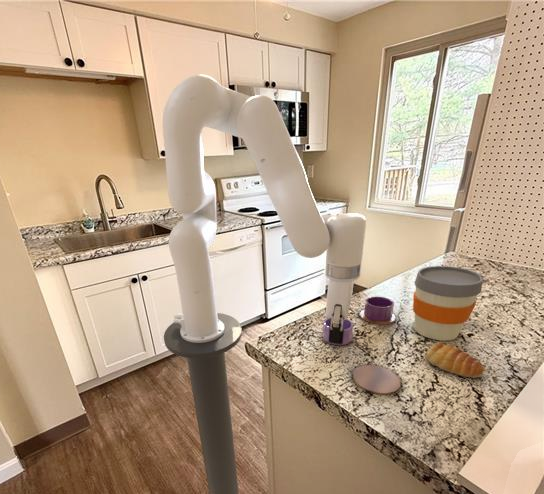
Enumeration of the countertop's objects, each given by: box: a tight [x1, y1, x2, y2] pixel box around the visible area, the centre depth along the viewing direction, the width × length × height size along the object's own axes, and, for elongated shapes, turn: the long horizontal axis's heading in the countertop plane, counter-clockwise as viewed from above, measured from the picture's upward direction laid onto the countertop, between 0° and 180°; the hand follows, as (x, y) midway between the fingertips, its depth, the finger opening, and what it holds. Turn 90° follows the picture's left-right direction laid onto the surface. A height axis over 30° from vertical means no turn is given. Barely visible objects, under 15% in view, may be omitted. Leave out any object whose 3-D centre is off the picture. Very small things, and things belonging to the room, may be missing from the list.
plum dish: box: [363, 296, 395, 321], centre depth 85 cm, size 7×7×4 cm
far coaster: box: [359, 308, 396, 325], centre depth 86 cm, size 9×9×1 cm
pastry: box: [425, 341, 485, 379], centre depth 64 cm, size 9×7×4 cm
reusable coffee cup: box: [412, 265, 484, 341], centre depth 74 cm, size 13×13×15 cm
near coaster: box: [352, 364, 402, 395], centre depth 64 cm, size 9×9×1 cm
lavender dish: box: [322, 316, 354, 346], centre depth 78 cm, size 7×7×4 cm
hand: (337, 334), depth 79 cm, fingers closed on lavender dish, 6 cm apart
